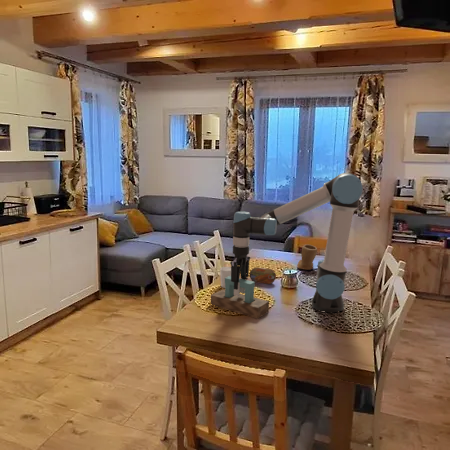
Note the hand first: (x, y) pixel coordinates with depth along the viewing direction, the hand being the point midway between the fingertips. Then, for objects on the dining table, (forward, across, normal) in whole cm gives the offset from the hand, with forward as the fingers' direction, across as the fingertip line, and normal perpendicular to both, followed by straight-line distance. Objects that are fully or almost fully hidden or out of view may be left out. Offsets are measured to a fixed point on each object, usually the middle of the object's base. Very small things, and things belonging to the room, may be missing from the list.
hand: (239, 294), depth 190 cm
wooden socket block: (+7, 0, 0) cm, 7 cm away
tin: (+7, -40, -10) cm, 42 cm away
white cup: (+7, -22, -22) cm, 32 cm away
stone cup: (+7, -83, -2) cm, 83 cm away
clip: (+4, 0, 0) cm, 4 cm away
